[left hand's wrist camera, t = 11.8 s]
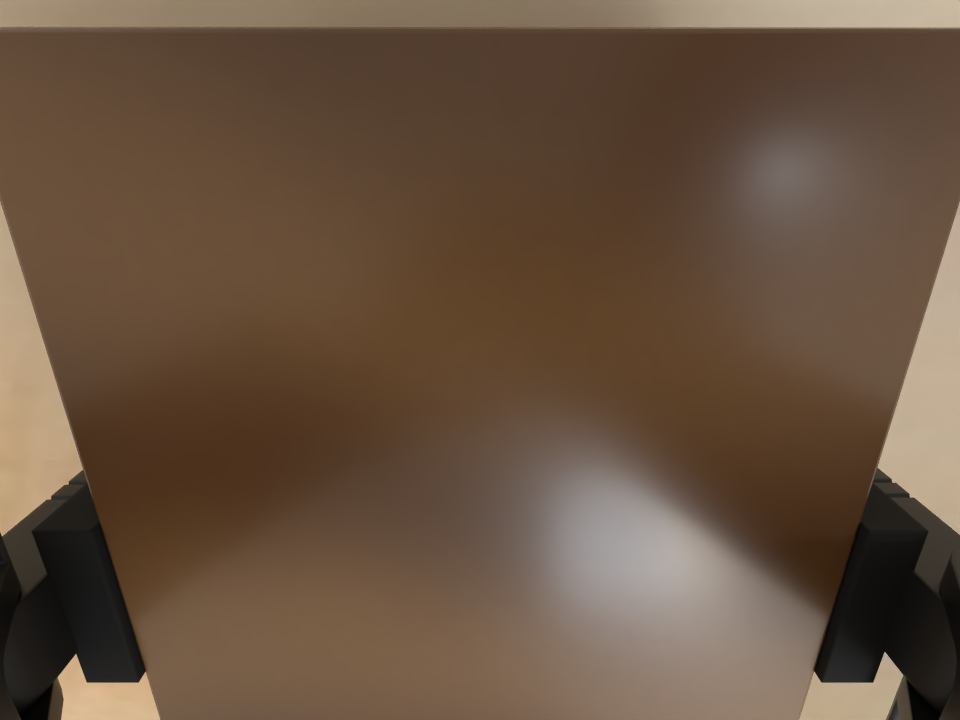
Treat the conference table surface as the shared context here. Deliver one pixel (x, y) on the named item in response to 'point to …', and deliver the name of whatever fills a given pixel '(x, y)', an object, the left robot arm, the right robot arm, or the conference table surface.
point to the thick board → (479, 348)
